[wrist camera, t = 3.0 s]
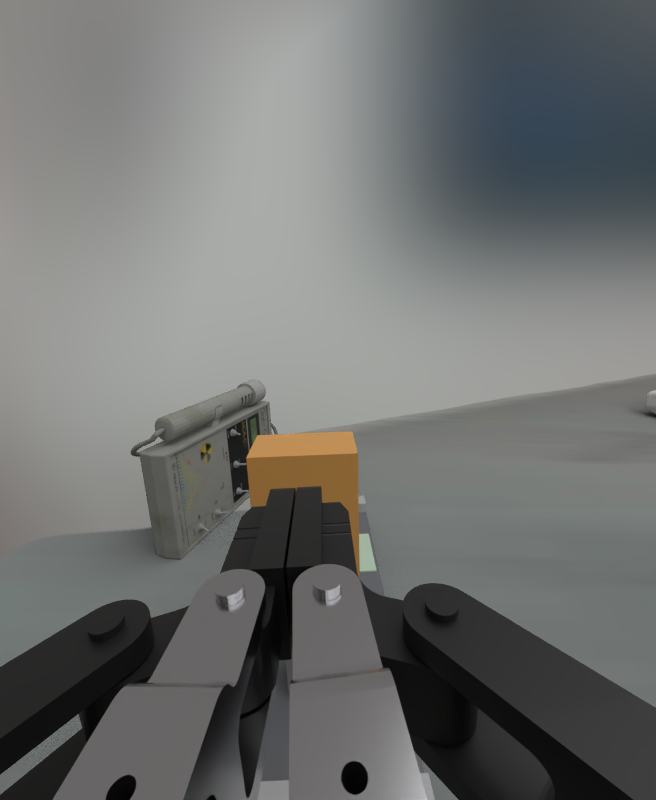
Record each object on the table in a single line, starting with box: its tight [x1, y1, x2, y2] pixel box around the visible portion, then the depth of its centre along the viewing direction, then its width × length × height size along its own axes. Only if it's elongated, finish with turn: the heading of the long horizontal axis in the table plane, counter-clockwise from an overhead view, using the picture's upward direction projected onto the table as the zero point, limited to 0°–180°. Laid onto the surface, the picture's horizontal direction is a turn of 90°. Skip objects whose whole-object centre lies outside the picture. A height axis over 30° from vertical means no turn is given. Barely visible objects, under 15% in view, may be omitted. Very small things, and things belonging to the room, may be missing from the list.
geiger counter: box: [131, 380, 277, 559], centre depth 45 cm, size 14×6×25 cm
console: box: [258, 496, 435, 800], centre depth 27 cm, size 26×10×3 cm, turn 1°
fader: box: [246, 431, 360, 692], centre depth 20 cm, size 3×5×14 cm, turn 91°
